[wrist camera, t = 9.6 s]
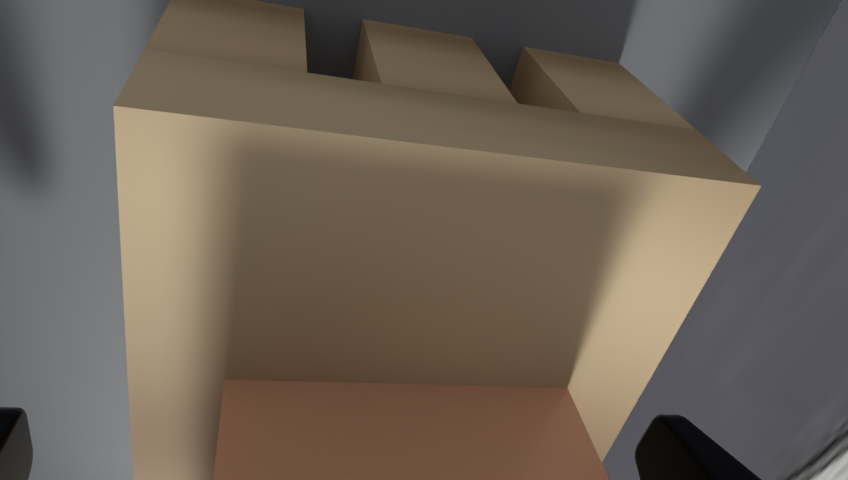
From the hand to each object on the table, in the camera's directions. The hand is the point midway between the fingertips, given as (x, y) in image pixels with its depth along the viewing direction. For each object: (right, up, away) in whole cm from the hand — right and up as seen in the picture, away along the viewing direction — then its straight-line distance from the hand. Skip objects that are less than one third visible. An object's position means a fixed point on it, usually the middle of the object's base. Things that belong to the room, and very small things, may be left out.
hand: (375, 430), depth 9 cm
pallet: (0, +1, +2) cm, 2 cm away
